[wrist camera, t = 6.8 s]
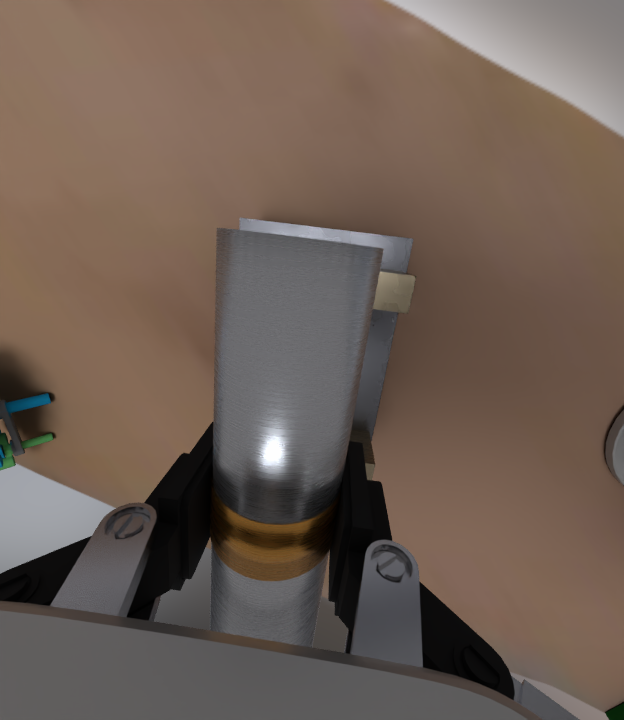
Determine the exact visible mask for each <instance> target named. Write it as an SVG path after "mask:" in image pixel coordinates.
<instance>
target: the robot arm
mask: <svg viewBox="0 0 624 720" xmlns="http://www.w3.org/2000/svg"><path fill="white" fill-rule="evenodd" d="M605 455H606V460H607V465H608V467H609V469H610V471H611V473H612V474H613V476H614V477H615V478H616V479H617V480H618V481H619V482H620V483H621V484H622V485H623V486H624V410H623V411H622V412H621V413H620V415H619V416H618V417H617V418H616V420H615V422H614V424H613V426H612V428H611V429H610V432H609V435H608V438H607V441H606V451H605ZM212 472H213V422H212V423H211V424H210V426H209V427H208V429H207V430H206V431H205V433H204V434H203V436H202V437H201V438H200V440H199V441H198V442H197V444H196V445H195V447H194V448H193V449H192V451H191V452H190V454H187V453H183V454H181V455H180V456H179V458H178V459H177V460H176V462H175V463H174V464H173V466H172V467H171V468H170V470H169V471H168V472H167V474H166V475H165V476H164V477H163V479H162V480H161V481H160V483H159V484H158V485H157V487H156V488H155V489H154V491H153V492H152V493H151V495H150V496H149V497H148V499H147V500H146V501H145V503H129V504H126V505H123V506H120V507H118V508H116V509H114V510H113V511H111V512H110V513H109V514H107V515H106V516H105V517H104V518H103V520H102V521H101V522H100V524H99V525H98V527H97V529H96V530H95V532H94V534H93V535H92V536H90V537H88V538H85V539H83V540H80V541H78V542H75V543H73V544H71V545H69V546H66V547H63V548H61V549H58V550H56V551H53V552H51V553H49V554H46V555H44V556H41V557H39V558H36V559H34V560H31V561H29V562H26V563H24V564H22V565H19V566H17V567H14V568H12V569H9V570H7V571H5V572H3V573H1V574H0V720H579V719H578V718H576V717H575V716H574V715H572V714H571V713H569V712H568V711H567V710H566V709H564V708H563V707H561V706H560V705H559V704H557V703H556V702H555V701H553V700H552V699H550V698H549V697H548V696H546V695H545V694H544V693H542V692H541V691H540V690H538V689H537V688H535V687H534V686H533V685H531V684H530V683H528V682H527V681H526V680H523V682H522V683H520V682H519V681H517V680H516V679H515V678H513V677H512V676H511V675H510V672H509V670H508V668H507V666H506V665H505V663H504V661H503V660H502V658H501V657H500V656H499V655H498V654H497V652H496V651H495V650H494V649H493V648H492V647H491V646H490V645H489V644H488V643H487V642H485V641H484V640H483V639H482V638H481V637H480V636H479V635H478V634H477V633H476V632H474V631H473V630H472V629H471V628H470V627H469V626H468V625H467V624H466V623H465V622H463V621H462V620H461V619H460V618H459V617H458V616H457V615H456V614H455V613H454V612H452V611H451V610H450V609H449V608H448V607H447V606H446V605H445V604H444V603H443V602H441V601H440V600H439V599H438V598H437V597H436V596H435V595H434V594H433V593H432V592H430V591H429V590H428V589H427V588H426V587H425V586H424V585H423V584H422V583H421V582H419V570H418V565H417V562H416V560H415V559H414V557H413V555H412V554H411V553H410V552H409V551H408V550H407V549H406V548H404V547H403V546H402V545H400V544H398V543H396V542H394V541H392V536H391V530H390V525H389V520H388V514H387V509H386V504H385V498H384V493H383V488H382V484H381V482H379V481H372V480H367V474H366V467H365V459H364V451H363V444H362V443H360V442H353V441H349V445H348V450H347V456H346V461H345V467H344V472H343V477H342V483H341V495H340V501H339V506H338V512H337V517H336V523H335V528H334V534H333V539H332V544H331V547H330V560H329V601H332V602H335V615H336V616H339V618H340V619H341V620H342V622H343V623H344V624H345V625H346V627H347V628H348V632H347V638H346V645H345V651H344V653H341V652H335V651H328V650H323V649H317V648H311V647H305V646H300V645H294V644H288V643H282V642H276V641H270V640H264V639H258V638H252V637H246V636H239V635H233V634H227V633H221V632H215V631H208V630H203V629H196V628H190V627H184V626H178V625H172V624H165V623H159V622H154V619H155V615H156V613H157V609H158V606H159V603H160V598H161V595H162V594H164V593H166V592H167V591H169V590H170V589H173V590H181V588H182V586H183V584H184V581H185V579H191V578H192V576H193V574H194V572H195V570H196V567H197V565H198V563H199V561H200V559H201V556H202V554H203V552H204V549H205V547H206V545H207V543H208V540H209V538H210V502H211V474H212Z"/></svg>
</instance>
